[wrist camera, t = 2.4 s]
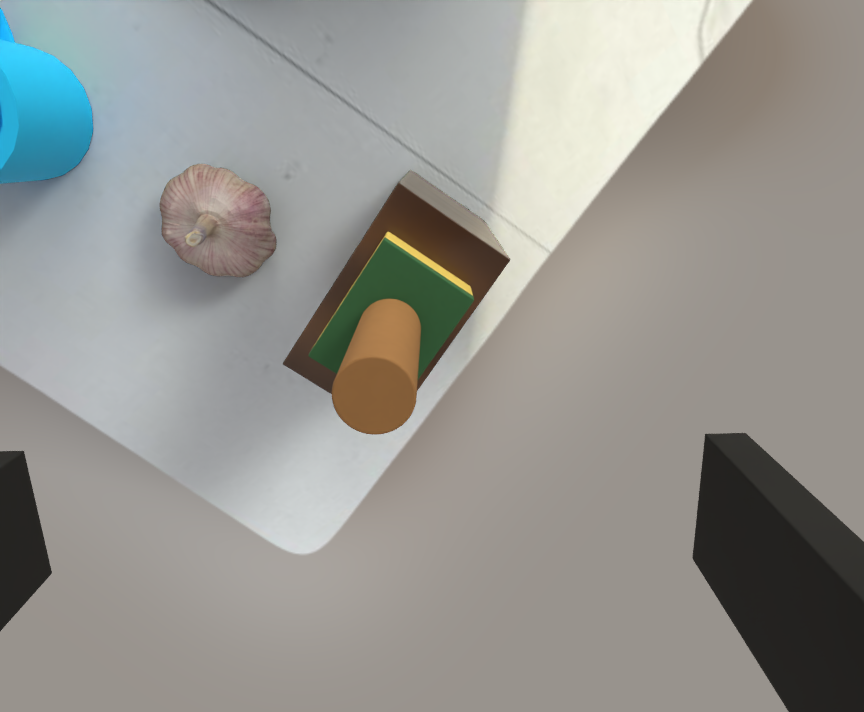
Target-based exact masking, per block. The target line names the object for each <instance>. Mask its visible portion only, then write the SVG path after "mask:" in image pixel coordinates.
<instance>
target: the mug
mask: <svg viewBox="0 0 864 712" xmlns="http://www.w3.org/2000/svg"><path fill="white" fill-rule="evenodd" d="M92 133H93V120H92V109H91V106H90V103H89V100H88V98H87V95H86V92H85V90H84V88H83V86H82V85H81V84H80V82H79V81H78V79H77V78H76V77H75V75H74V74H73V72H72V71H71V70H70V69H69V68H68V67H66V66H65V65H64V64H63V63H62V62H60V61H59V60H58V59H57V58H55V57H54V56H52V55H50V54H48V53H45V52H43V51H41V50H38V49H36V48H33V47H29V46H25V45H21V44H17V43H15V41H14V38H13V35H12V32H11V30H10V27H9V25H8V23H7V20H6V18H5V16H4V14H3V11H2V9H1V8H0V184H2V183H14V182H25V181H37V180H46V179H50V178H54V177H58V176H62V175H64V174H66V173H67V172H68V171H70V170H71V169H73V168H74V167H76V166H77V165H78V164H79V163H80V161H81V160H82V158H83V157H84V155H85V154H86V152H87V151H88V149H89V145H90V141H91V137H92Z"/></svg>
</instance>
